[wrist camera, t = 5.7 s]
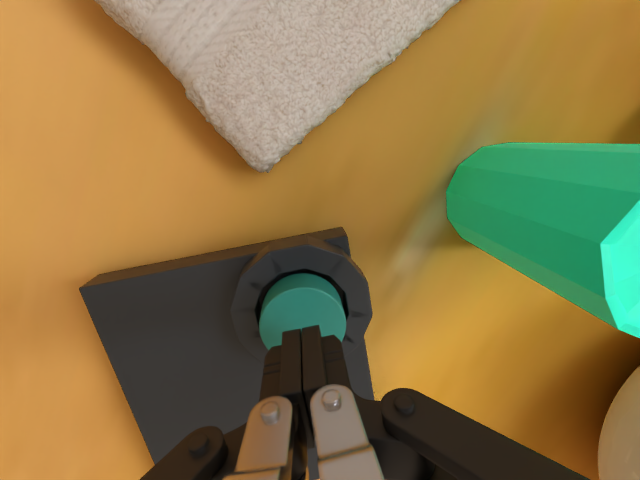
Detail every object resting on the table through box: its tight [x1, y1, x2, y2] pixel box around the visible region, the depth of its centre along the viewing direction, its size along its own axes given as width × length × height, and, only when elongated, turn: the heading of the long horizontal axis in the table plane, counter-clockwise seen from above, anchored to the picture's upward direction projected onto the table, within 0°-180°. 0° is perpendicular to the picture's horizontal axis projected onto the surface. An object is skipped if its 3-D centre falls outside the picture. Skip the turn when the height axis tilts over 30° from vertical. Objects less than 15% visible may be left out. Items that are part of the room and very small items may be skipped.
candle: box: [446, 142, 640, 338], centre depth 14 cm, size 6×6×12 cm
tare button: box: [259, 273, 346, 350], centre depth 16 cm, size 4×4×2 cm
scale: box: [79, 227, 374, 480], centre depth 20 cm, size 16×14×4 cm
